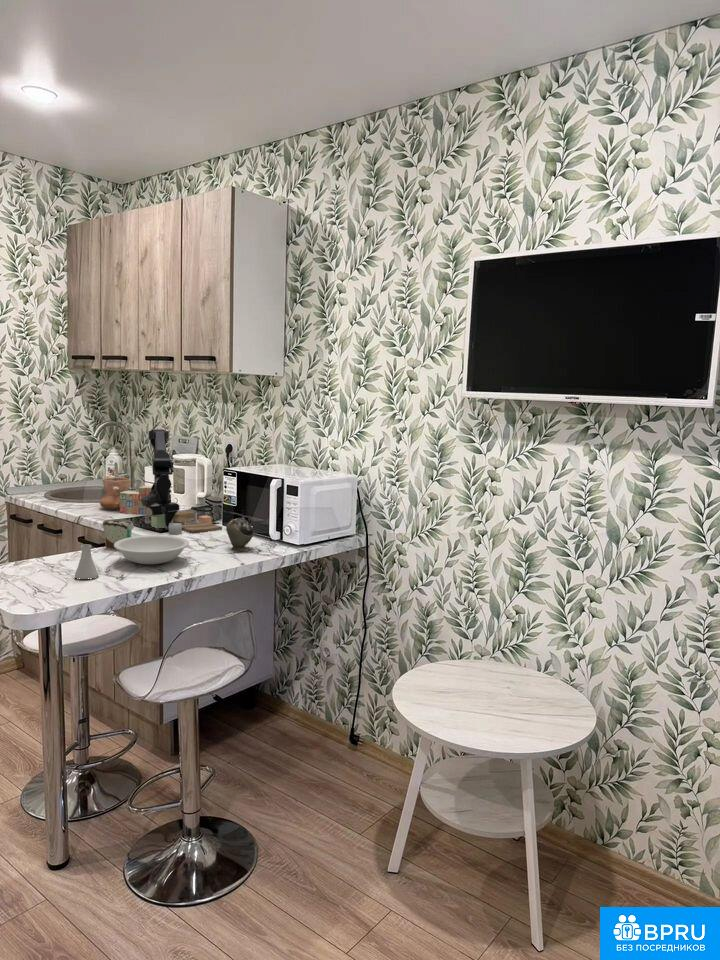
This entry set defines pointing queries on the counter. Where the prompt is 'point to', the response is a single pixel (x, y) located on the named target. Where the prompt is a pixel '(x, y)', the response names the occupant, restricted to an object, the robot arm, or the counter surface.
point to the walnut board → (200, 527)
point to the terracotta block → (205, 519)
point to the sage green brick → (158, 521)
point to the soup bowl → (151, 548)
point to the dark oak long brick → (183, 516)
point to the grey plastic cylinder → (175, 528)
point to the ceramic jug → (114, 491)
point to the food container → (116, 531)
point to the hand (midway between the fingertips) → (161, 524)
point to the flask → (86, 564)
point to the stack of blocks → (134, 501)
